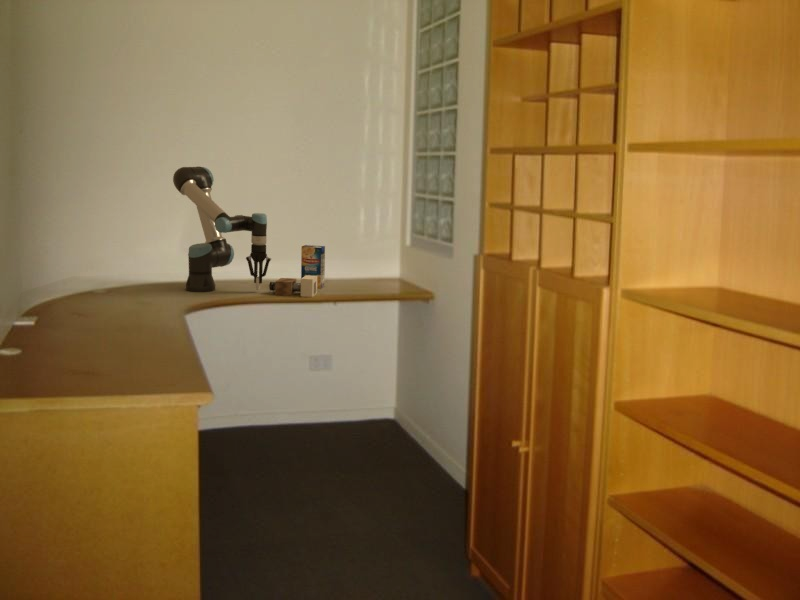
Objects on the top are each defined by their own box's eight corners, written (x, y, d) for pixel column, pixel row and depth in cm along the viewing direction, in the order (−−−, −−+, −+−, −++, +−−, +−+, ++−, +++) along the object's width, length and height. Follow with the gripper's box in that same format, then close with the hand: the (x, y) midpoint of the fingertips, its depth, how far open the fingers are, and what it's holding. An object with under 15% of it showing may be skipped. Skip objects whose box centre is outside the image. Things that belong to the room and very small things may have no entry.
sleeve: (275, 295, 461) (275, 281, 460) (281, 291, 473) (281, 278, 472) (290, 295, 461) (291, 282, 459) (296, 292, 472) (296, 278, 471)
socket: (300, 296, 460) (300, 278, 458) (305, 292, 472) (305, 275, 470) (312, 297, 459) (312, 279, 458) (317, 293, 471) (317, 275, 470)
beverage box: (320, 288, 485) (321, 247, 481) (300, 287, 487) (301, 246, 483) (324, 286, 491) (325, 246, 488) (305, 285, 494) (305, 245, 490)
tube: (269, 291, 465) (269, 282, 464) (271, 289, 470) (271, 281, 469) (311, 293, 463) (311, 284, 462) (313, 291, 467) (313, 283, 467)
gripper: (244, 244, 461) (243, 290, 465) (269, 245, 460) (268, 291, 464) (248, 242, 468) (247, 287, 473) (273, 243, 467) (272, 289, 472)
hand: (257, 289), depth 469 cm, fingers closed
